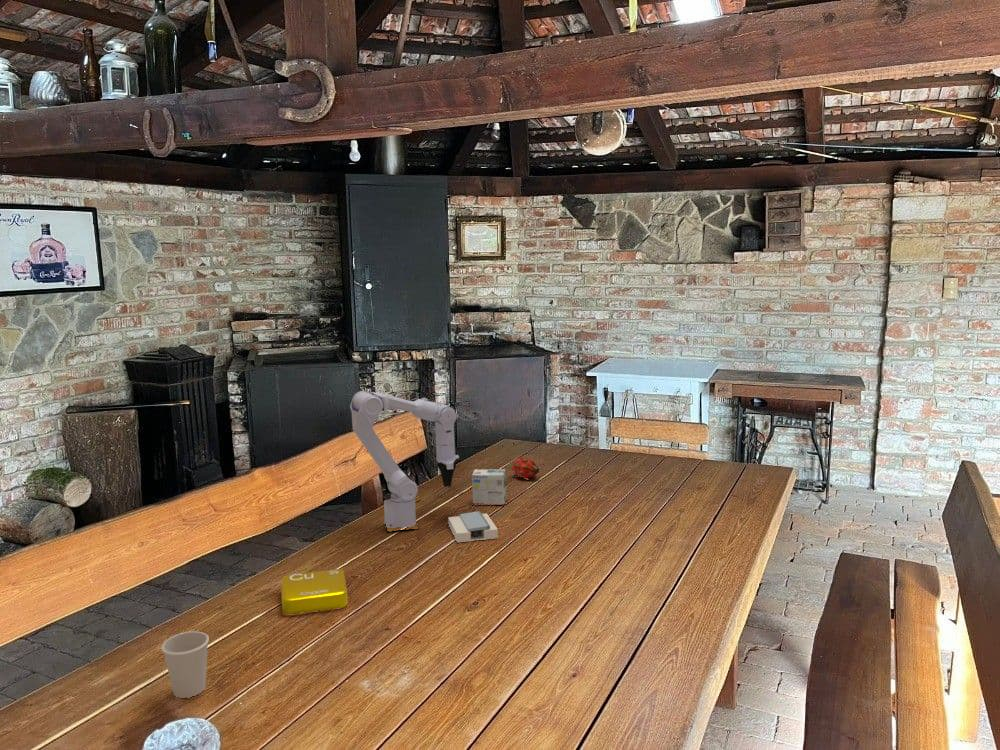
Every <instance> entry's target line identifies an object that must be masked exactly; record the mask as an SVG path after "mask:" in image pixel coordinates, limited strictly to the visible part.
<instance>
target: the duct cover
mask: <svg viewBox="0 0 1000 750" xmlns="http://www.w3.org/2000/svg"><path fill="white" fill-rule="evenodd" d="M482 514H483V513H482V511H480V510H478V511H473V512H465V513H460V514H459V516H460V518H461V519H462V521H463V523H464V525H465V526H466V528H467V530H468V532H470V531H476V530H483V529H489V528H490V525H489V524H488V522H487V521H486V519H485V518H484V516H483V515H482Z"/></svg>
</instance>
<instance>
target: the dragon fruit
mask: <svg viewBox="0 0 1000 750" xmlns="http://www.w3.org/2000/svg"><path fill="white" fill-rule="evenodd" d="M512 464H513V465H512V466H511V468H510V470H511V471H512V472H514V476H515V477H516V476H517V477H518V476H520V478H521V477H524V478H528V477H529V478H536V477H537V475H538V473H539V472H540V468H539V467H538V465H537V464H536V463H535V462H534V460H533V461H532V460H531V459H530V458H529V457H526V456H521V457H517V458H516V459H515V460H514V462H512ZM518 478H519V477H518ZM529 478H528V479H529Z"/></svg>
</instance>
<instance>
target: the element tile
mask: <svg viewBox="0 0 1000 750" xmlns="http://www.w3.org/2000/svg"><path fill="white" fill-rule="evenodd" d="M345 575H346V574H345V571H344V570H343V569H341V568H336V569H335V568H334V569H326V570H318V571H310V572H302V573H301V572H300V573H294V574H287V575H284V576H283V578H281V595H280V597H281V612H283V613H284V614H296V613H301V612H309V611H317V610H328V609H335V608H342V607H345V606H346V605H347V604H348V605H349V601H348V600H349V599H348V587H347V583H346V582H347V581H346V576H345ZM348 605H347V606H348ZM345 608H346V607H345ZM283 613H282V614H283Z"/></svg>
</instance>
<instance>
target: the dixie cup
mask: <svg viewBox="0 0 1000 750" xmlns="http://www.w3.org/2000/svg"><path fill="white" fill-rule="evenodd" d="M209 642H210V638H209V635H208V634H207V633H205V632H202V631H193V630H191V631H185V632H182V633H177V634H174V635H173V636H171V637H169V638H167V639H166V640H165V641H164V642H163V643H162V644H161V648H160V649H161V651H162V653H163V656H164V659H165V660H164V661H165V663H166V668H167V671H168V672H167V673H168V676H169V680H170V684H171V688H172V692H173V695H175V696H177V697H180V698H185V697H192V696H195V695H197V694H199V693H201V692H202V691H203V690H204V689H205V690H206V688H207V687H206V685H207V684H206V683H207V663H208V643H209ZM205 687H206V688H205ZM205 690H204V691H205ZM204 691H203V692H204ZM203 692H202V693H203ZM202 693H201V694H202ZM199 695H200V694H199ZM175 696H174V697H175ZM195 697H196V696H195ZM192 698H193V697H192Z"/></svg>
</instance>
